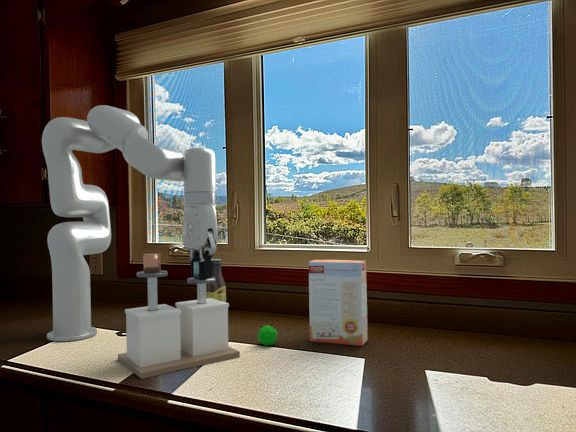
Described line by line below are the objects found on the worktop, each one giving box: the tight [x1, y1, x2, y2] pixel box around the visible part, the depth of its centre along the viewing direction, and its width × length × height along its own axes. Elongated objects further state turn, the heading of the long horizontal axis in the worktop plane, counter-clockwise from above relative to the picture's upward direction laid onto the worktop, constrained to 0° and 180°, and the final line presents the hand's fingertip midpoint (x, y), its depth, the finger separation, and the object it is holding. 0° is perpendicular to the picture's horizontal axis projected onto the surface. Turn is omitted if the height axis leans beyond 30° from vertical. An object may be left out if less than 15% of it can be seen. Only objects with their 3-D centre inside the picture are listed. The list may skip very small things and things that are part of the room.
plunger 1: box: [136, 253, 169, 311], centre depth 103 cm, size 7×7×14 cm
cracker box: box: [308, 259, 369, 347], centre depth 118 cm, size 14×6×21 cm, turn 67°
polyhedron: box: [257, 324, 278, 347], centre depth 116 cm, size 5×5×5 cm
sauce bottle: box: [206, 258, 227, 303], centre depth 136 cm, size 7×6×20 cm
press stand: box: [117, 298, 241, 380], centre depth 106 cm, size 16×23×12 cm
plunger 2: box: [186, 261, 216, 304], centre depth 110 cm, size 7×7×14 cm
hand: (201, 276), depth 110 cm, fingers closed on plunger 2, 3 cm apart
